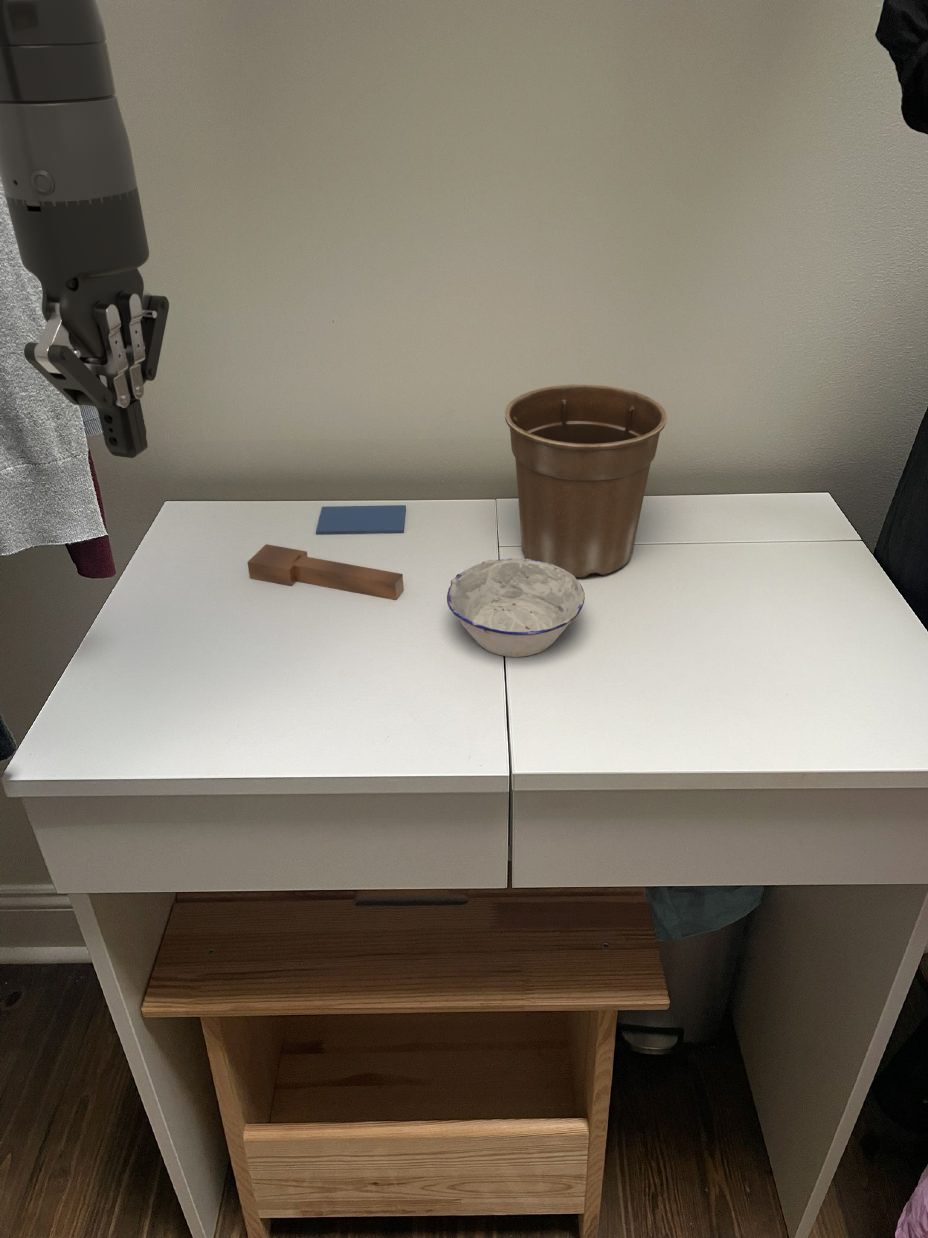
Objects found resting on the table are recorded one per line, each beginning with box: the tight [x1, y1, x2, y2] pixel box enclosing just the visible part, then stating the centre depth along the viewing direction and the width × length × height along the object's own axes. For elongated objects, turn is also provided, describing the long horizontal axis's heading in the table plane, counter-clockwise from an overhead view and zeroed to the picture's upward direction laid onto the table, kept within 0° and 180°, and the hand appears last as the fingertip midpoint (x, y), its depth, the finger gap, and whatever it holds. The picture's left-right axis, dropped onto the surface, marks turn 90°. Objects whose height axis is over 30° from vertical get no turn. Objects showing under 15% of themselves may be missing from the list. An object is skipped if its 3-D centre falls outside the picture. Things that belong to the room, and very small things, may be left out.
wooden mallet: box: [246, 543, 404, 601], centre depth 99 cm, size 16×4×2 cm, turn 70°
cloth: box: [315, 504, 407, 535], centre depth 110 cm, size 10×6×1 cm, turn 90°
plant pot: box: [504, 383, 668, 578], centre depth 100 cm, size 16×16×16 cm
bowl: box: [446, 558, 586, 658], centre depth 90 cm, size 13×13×5 cm
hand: (129, 452), depth 66 cm, fingers closed
